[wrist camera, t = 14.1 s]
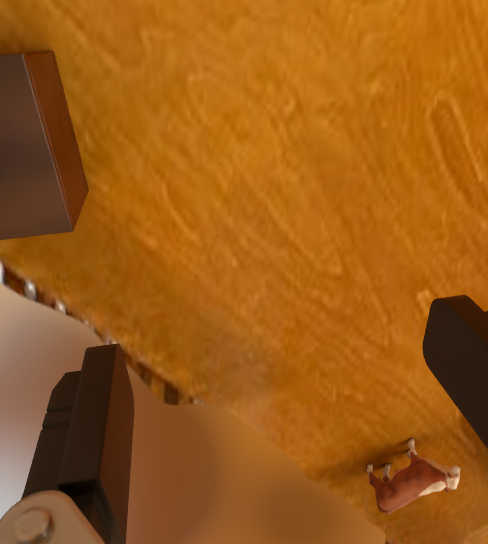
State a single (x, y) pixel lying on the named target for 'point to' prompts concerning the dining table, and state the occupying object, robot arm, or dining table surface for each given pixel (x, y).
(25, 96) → the box lid
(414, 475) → the bull figurine
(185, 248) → the dining table surface
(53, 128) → the box
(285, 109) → the dining table surface
